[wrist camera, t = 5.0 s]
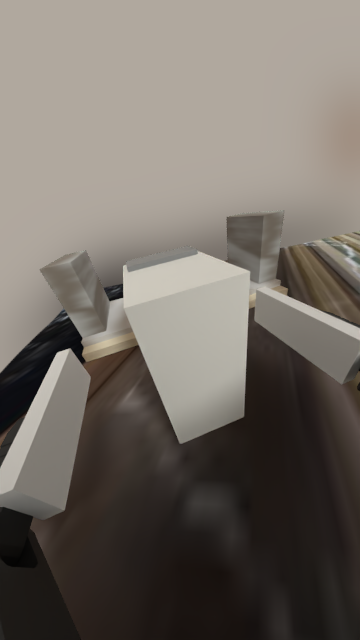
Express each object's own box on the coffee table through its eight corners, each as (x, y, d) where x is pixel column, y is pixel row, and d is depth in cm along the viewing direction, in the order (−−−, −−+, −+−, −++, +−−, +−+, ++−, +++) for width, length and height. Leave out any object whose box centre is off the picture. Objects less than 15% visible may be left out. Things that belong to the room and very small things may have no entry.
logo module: (205, 354, 18) (189, 243, 12) (243, 416, 13) (250, 263, 6) (160, 370, 18) (121, 260, 12) (180, 444, 12) (120, 300, 6)
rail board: (234, 272, 37) (234, 214, 31) (286, 296, 25) (301, 209, 19) (99, 312, 33) (69, 252, 27) (86, 362, 21) (27, 276, 15)
